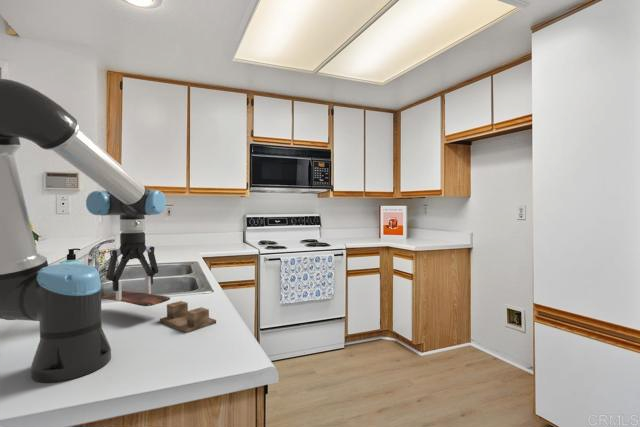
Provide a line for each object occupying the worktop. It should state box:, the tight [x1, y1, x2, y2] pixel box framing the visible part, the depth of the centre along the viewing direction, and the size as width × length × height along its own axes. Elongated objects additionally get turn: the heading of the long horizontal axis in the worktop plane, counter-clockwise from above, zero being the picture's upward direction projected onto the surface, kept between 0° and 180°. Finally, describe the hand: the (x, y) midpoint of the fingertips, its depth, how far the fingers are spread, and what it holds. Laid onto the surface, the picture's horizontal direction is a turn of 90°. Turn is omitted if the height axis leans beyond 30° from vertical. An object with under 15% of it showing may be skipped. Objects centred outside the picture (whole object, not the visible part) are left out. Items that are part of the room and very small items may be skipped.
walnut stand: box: [159, 300, 217, 334], centre depth 108 cm, size 10×16×5 cm, turn 52°
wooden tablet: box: [101, 290, 171, 307], centre depth 116 cm, size 26×2×10 cm
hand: (133, 297), depth 116 cm, fingers closed on wooden tablet, 9 cm apart
